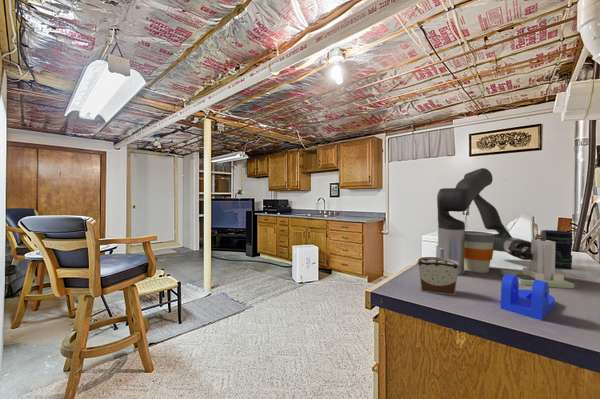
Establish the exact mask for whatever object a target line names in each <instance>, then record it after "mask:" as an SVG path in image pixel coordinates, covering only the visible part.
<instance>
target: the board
mask: <svg viewBox="0 0 600 399" xmlns="http://www.w3.org/2000/svg"><path fill="white" fill-rule="evenodd" d="M500 271H501V272H500V273H501V275H503V276H504V275H505V274H510V275H515V276H517V277H518V282H519V285H521V286H531V287H532V286H533V283H534V281H535V280H540V281H545V282H548V285H549V288H560V289H562V288H563V289H572V290H573V289H575V283H572V282H570V281H567V280H566V279H565V278H564V277H565V276H564V274H560V273H558V272H556V271H555V274H552V279H551V280H546V279H544V274H542V273H535V272H533V271H531V267H528V268H527V267H523V268H522V270H511V269H510V270H509V269H501V270H500Z"/></svg>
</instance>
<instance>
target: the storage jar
mask: <svg viewBox="0 0 600 399" xmlns="http://www.w3.org/2000/svg"><path fill="white" fill-rule="evenodd" d="M542 231H545V232H546V240H549V241H553V242H556V244H555V251H557V252H561V254H560V255H562V256H563V260H562V261H557V260H555V270H556V269H558V270H572V269H573V268H572V263H573V254H572V247H573V242H574V239H573V235H574V234H573V232H570V231H565V230H563V231H562V230H552V229H551V230H549V229H543V230H541V231H540V233H541V232H542Z"/></svg>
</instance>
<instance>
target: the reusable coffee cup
mask: <svg viewBox="0 0 600 399" xmlns="http://www.w3.org/2000/svg"><path fill="white" fill-rule="evenodd" d="M494 234H495V233H492V232H487V231H476V230H465V251H464V271H469V272H472V273H482V274H483V273H485V274H486V273H489V270H490V266H491V261H492V260H493V256H494V252H495V250H494V248H493V243H494V242H495V239H494Z"/></svg>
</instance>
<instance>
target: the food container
mask: <svg viewBox="0 0 600 399" xmlns="http://www.w3.org/2000/svg"><path fill="white" fill-rule="evenodd" d="M416 266H418V270H419V272H418V273H419V279H420V280H419V281H420V289H421V292H427V293H433V294H443V295H452V296H455V295H456V288H457V281H458V269H460V270H461V268H460V265H459V263H458V262H457V261H454V260H450V259H446V258H439V257H436V256H424V257H419V258H418V260H417V263H416Z"/></svg>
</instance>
